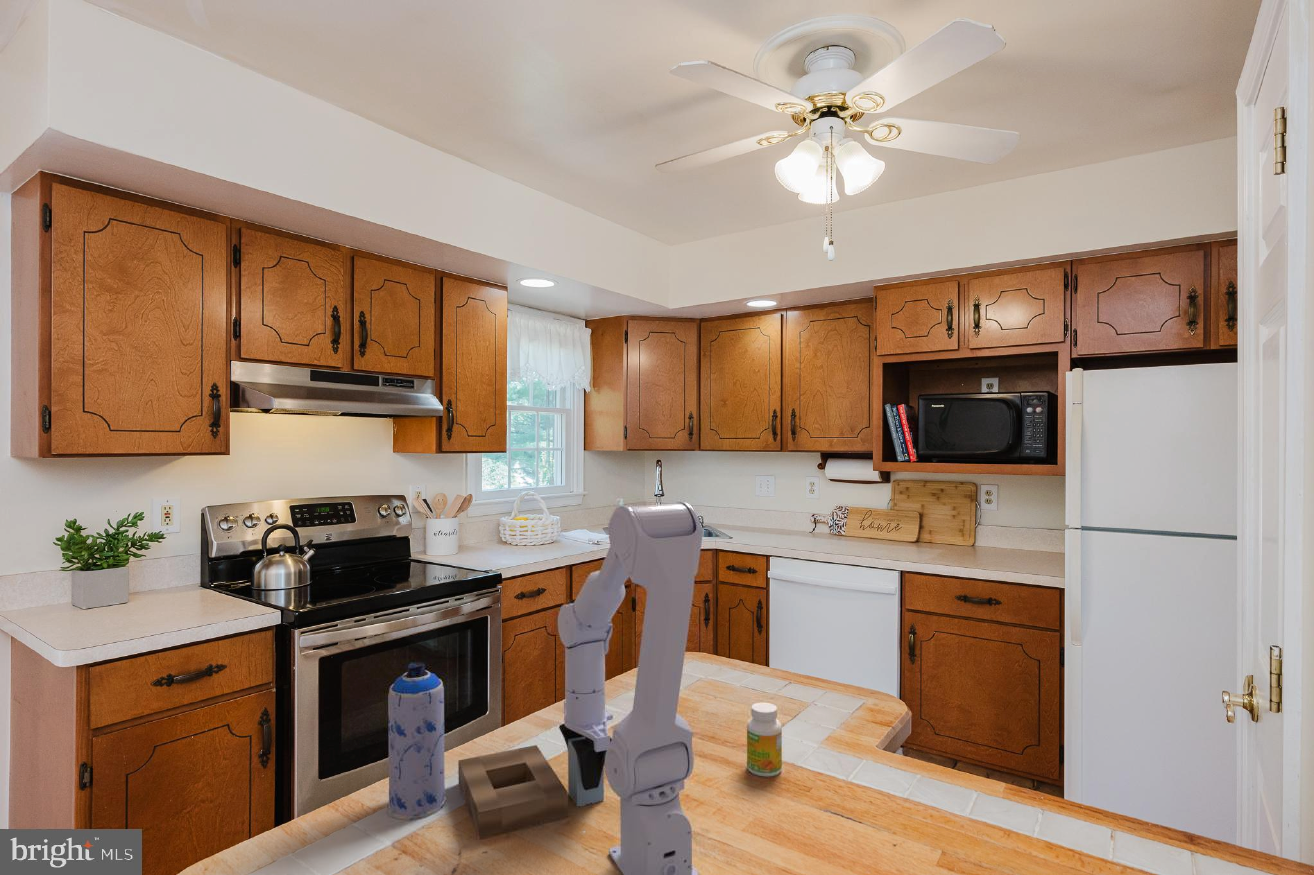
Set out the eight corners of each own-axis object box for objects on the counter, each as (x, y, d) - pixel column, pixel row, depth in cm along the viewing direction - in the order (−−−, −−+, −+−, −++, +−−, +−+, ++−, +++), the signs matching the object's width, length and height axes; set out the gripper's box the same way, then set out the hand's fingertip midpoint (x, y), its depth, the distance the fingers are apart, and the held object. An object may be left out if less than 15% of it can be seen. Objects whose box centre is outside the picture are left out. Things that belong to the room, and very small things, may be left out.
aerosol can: (457, 799, 101) (456, 660, 101) (413, 826, 94) (412, 677, 94) (420, 785, 105) (419, 652, 105) (375, 810, 98) (374, 667, 98)
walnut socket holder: (567, 817, 96) (567, 792, 96) (479, 839, 91) (478, 812, 91) (536, 767, 111) (536, 745, 111) (458, 783, 106) (458, 760, 105)
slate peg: (603, 800, 100) (603, 745, 100) (577, 807, 99) (576, 750, 99) (594, 788, 104) (593, 734, 104) (568, 794, 102) (568, 739, 102)
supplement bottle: (741, 772, 109) (741, 710, 108) (753, 758, 113) (753, 698, 113) (775, 780, 106) (775, 716, 106) (786, 765, 111) (786, 704, 111)
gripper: (630, 699, 96) (630, 798, 97) (594, 667, 110) (594, 754, 110) (581, 708, 93) (582, 809, 94) (550, 674, 107) (550, 763, 107)
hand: (585, 780), depth 101 cm, fingers closed on slate peg, 4 cm apart
